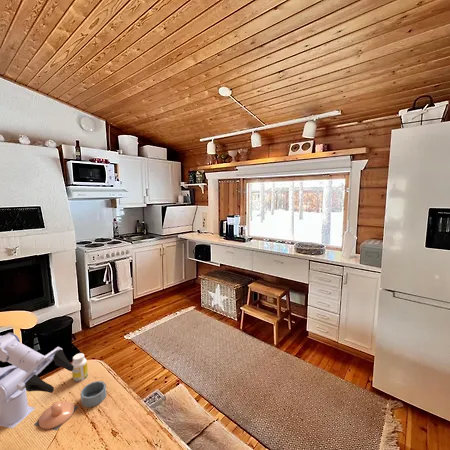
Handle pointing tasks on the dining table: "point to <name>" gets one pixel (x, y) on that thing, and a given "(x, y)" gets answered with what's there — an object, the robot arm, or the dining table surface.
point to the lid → (56, 415)
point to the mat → (58, 426)
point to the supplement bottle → (79, 368)
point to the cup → (93, 394)
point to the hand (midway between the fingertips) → (63, 379)
